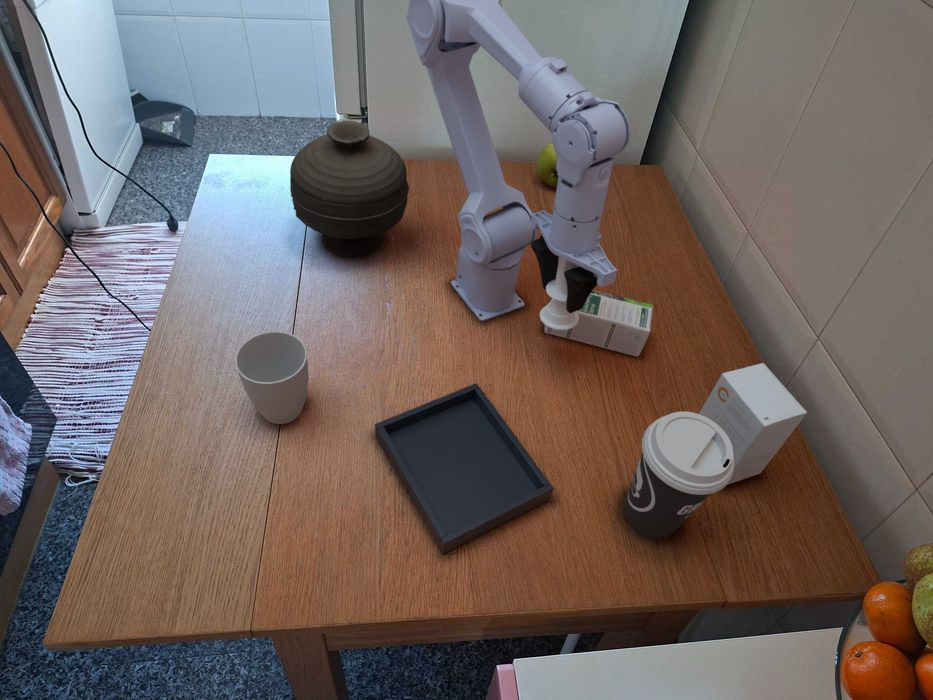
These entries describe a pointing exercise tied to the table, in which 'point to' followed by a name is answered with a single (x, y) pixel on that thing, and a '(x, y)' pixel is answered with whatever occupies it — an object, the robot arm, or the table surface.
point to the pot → (349, 189)
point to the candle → (559, 301)
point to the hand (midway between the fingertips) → (562, 298)
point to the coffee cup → (677, 472)
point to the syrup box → (610, 323)
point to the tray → (462, 466)
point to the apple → (548, 165)
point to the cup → (274, 374)
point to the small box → (753, 416)
